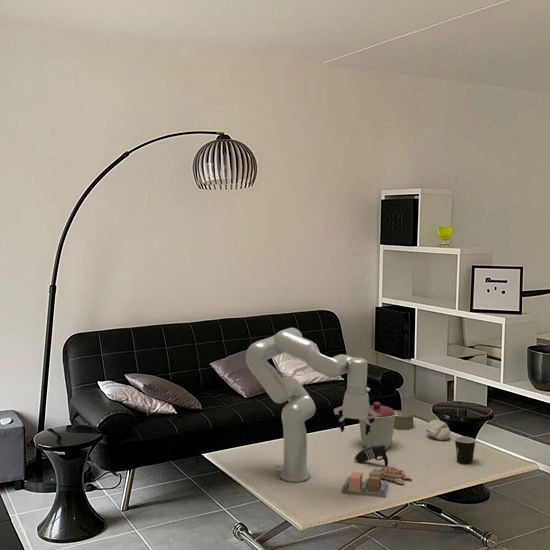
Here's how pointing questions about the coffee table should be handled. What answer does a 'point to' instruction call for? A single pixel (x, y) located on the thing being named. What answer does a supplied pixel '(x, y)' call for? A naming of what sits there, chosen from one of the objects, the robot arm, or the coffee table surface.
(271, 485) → the coffee table surface
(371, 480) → the walnut bar
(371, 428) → the canister
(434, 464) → the coffee table surface
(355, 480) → the terracotta bar
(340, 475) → the coffee table surface
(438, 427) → the fossil replica
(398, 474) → the decorative turtle
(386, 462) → the gun
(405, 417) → the can
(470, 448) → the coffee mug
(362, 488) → the slot rack
